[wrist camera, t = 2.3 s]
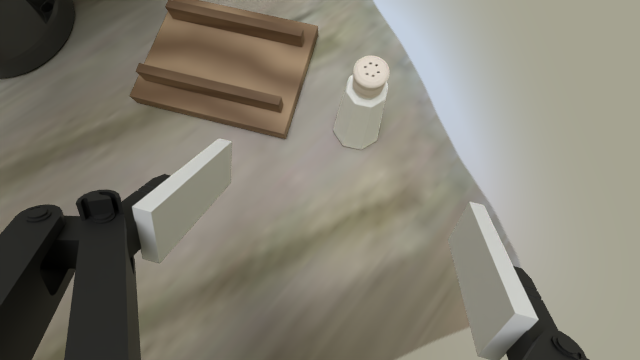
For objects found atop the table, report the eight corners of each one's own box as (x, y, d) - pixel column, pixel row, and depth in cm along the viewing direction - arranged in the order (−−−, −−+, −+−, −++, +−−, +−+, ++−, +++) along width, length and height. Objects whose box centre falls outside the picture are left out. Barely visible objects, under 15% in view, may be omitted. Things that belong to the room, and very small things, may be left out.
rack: (285, 139, 33) (281, 127, 30) (137, 102, 35) (118, 87, 31) (318, 35, 36) (317, 14, 33) (181, 5, 38) (167, -18, 34)
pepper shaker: (328, 109, 34) (331, 44, 23) (375, 102, 34) (399, 34, 23) (336, 154, 33) (343, 106, 22) (385, 146, 33) (414, 95, 22)
